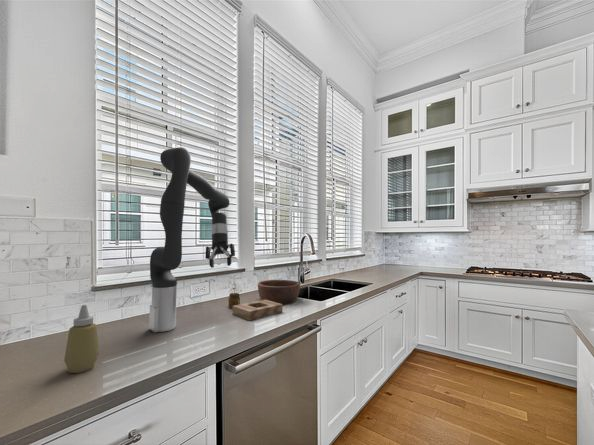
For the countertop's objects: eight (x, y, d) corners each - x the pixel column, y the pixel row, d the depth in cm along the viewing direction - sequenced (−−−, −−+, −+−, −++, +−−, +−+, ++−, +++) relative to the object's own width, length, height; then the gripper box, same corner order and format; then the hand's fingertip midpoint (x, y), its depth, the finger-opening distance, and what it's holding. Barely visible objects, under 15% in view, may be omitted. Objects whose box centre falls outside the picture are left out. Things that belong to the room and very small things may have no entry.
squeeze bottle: (104, 362, 87) (107, 302, 87) (86, 375, 79) (88, 309, 79) (77, 362, 86) (79, 302, 87) (55, 375, 78) (58, 309, 79)
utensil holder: (228, 308, 149) (229, 285, 150) (228, 306, 155) (228, 283, 156) (240, 308, 151) (240, 285, 151) (239, 305, 157) (239, 283, 158)
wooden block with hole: (249, 320, 130) (249, 311, 130) (232, 314, 140) (232, 305, 140) (282, 312, 144) (282, 304, 144) (264, 307, 154) (265, 299, 154)
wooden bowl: (307, 299, 174) (307, 282, 174) (284, 308, 153) (284, 288, 153) (274, 294, 187) (274, 278, 188) (248, 301, 166) (248, 283, 167)
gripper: (202, 234, 140) (203, 267, 136) (230, 230, 138) (231, 264, 134) (209, 236, 148) (210, 268, 144) (236, 233, 146) (237, 265, 142)
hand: (220, 266), depth 139 cm, fingers open, 8 cm apart
